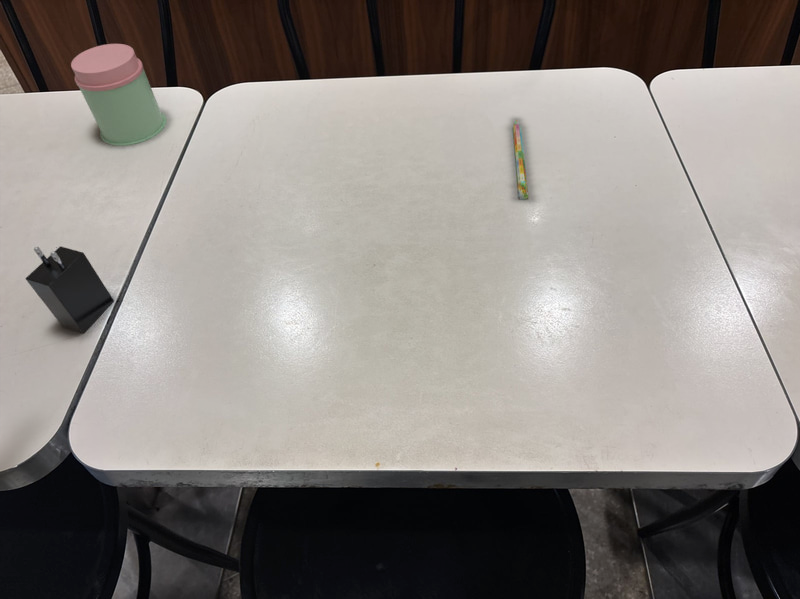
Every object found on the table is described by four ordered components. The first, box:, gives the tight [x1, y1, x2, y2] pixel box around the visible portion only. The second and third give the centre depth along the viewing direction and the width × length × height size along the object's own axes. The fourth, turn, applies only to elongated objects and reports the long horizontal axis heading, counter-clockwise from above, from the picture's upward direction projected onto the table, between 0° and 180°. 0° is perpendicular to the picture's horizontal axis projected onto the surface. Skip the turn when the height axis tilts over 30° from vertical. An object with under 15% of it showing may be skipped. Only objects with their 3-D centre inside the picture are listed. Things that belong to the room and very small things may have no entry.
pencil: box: [512, 118, 530, 201], centre depth 80 cm, size 1×1×18 cm
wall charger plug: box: [25, 245, 115, 334], centre depth 62 cm, size 3×5×10 cm, turn 158°
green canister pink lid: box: [70, 43, 168, 147], centre depth 87 cm, size 10×10×12 cm
